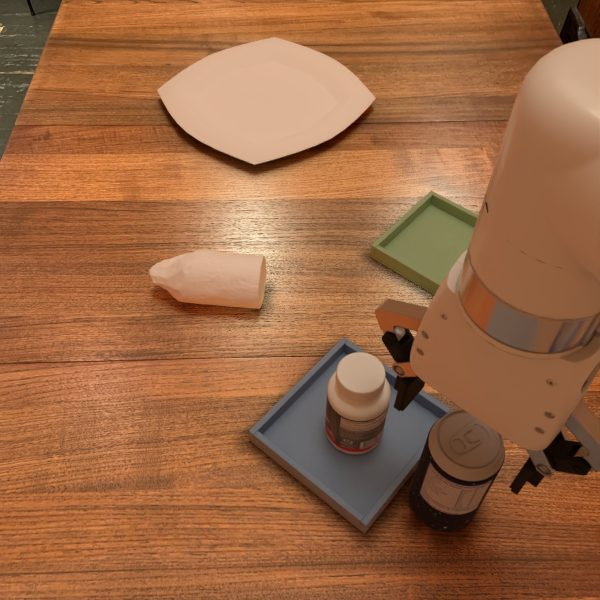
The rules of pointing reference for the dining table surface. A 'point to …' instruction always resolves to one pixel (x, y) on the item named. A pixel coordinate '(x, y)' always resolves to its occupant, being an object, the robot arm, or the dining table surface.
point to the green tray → (426, 241)
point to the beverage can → (455, 471)
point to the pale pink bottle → (213, 278)
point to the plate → (265, 99)
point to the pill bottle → (357, 404)
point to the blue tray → (334, 463)
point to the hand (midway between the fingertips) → (463, 435)
